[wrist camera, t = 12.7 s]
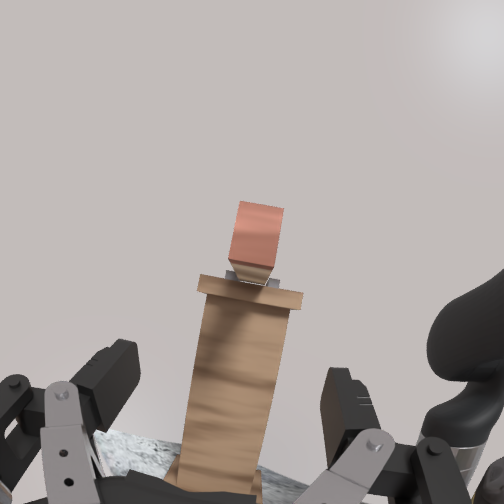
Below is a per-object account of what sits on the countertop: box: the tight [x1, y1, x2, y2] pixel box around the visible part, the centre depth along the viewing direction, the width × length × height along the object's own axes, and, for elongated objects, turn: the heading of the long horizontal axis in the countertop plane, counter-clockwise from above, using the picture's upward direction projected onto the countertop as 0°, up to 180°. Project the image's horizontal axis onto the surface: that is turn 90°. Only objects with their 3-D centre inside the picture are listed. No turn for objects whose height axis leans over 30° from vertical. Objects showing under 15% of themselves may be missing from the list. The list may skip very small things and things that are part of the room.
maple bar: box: [228, 201, 284, 285], centre depth 28 cm, size 16×3×4 cm, turn 0°
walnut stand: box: [164, 270, 303, 504], centre depth 36 cm, size 12×14×33 cm
